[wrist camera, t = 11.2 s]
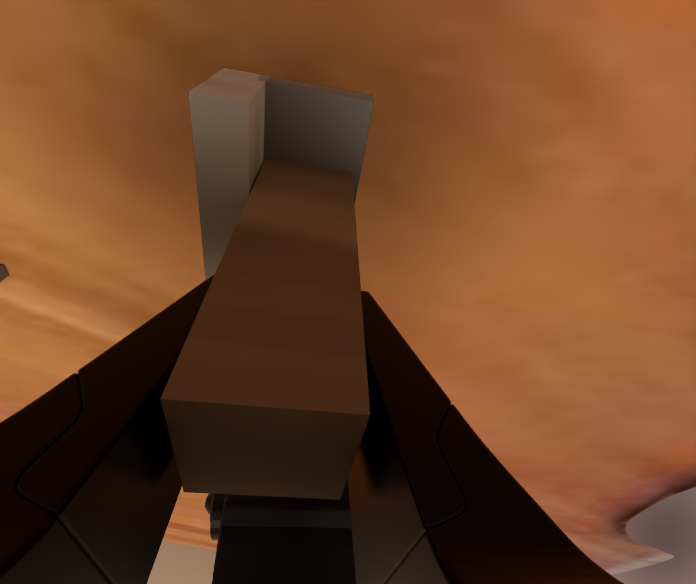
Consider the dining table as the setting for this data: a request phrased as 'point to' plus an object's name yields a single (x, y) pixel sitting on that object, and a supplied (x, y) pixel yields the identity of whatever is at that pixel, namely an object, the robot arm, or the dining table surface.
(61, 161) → the dining table surface
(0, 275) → the frame
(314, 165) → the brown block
